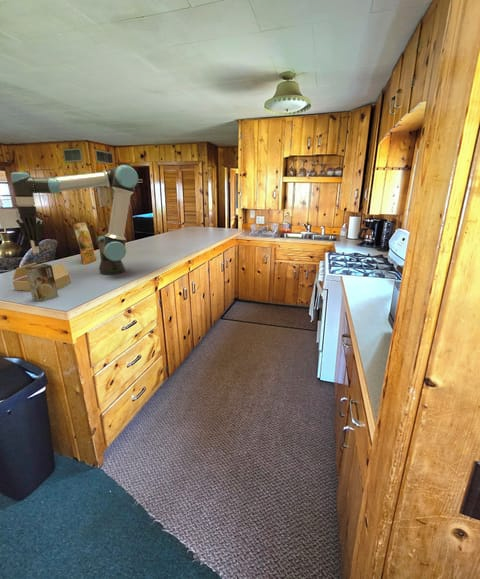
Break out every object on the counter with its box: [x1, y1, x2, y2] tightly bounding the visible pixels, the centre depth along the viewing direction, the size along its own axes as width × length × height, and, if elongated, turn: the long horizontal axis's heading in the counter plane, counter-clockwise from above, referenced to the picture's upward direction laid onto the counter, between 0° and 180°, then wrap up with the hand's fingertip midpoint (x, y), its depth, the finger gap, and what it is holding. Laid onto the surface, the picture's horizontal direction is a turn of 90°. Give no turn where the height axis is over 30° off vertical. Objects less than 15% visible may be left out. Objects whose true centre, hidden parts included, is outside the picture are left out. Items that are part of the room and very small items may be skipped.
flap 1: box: [12, 262, 37, 281], centre depth 158 cm, size 1×14×7 cm
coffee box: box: [25, 263, 59, 302], centre depth 141 cm, size 9×6×16 cm
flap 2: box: [52, 262, 70, 280], centre depth 156 cm, size 1×14×7 cm, turn 172°
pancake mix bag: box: [72, 221, 97, 265], centre depth 209 cm, size 7×19×28 cm, turn 176°
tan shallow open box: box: [12, 273, 72, 292], centre depth 159 cm, size 21×16×5 cm
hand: (36, 252), depth 153 cm, fingers closed
